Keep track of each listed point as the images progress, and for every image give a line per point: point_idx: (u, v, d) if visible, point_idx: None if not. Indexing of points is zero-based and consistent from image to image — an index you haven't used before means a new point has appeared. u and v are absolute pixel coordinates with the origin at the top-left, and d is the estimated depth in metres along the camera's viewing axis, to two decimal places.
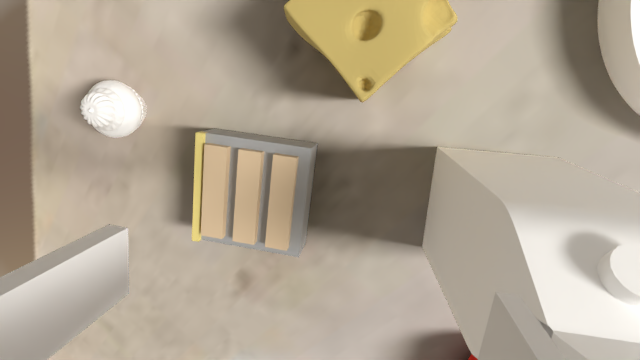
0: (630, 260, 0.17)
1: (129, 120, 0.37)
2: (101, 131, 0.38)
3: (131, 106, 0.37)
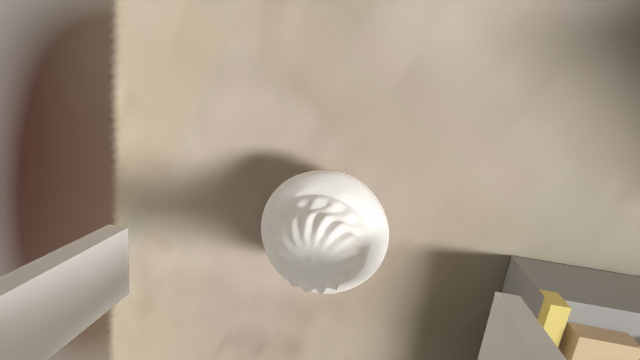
0: None
1: (372, 265, 0.16)
2: (300, 285, 0.17)
3: (380, 234, 0.16)
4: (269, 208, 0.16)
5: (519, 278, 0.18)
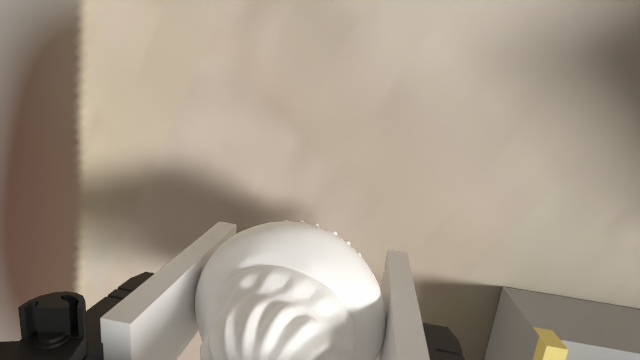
0: None
1: None
2: None
3: (373, 325, 0.10)
4: (203, 281, 0.11)
5: (511, 313, 0.17)
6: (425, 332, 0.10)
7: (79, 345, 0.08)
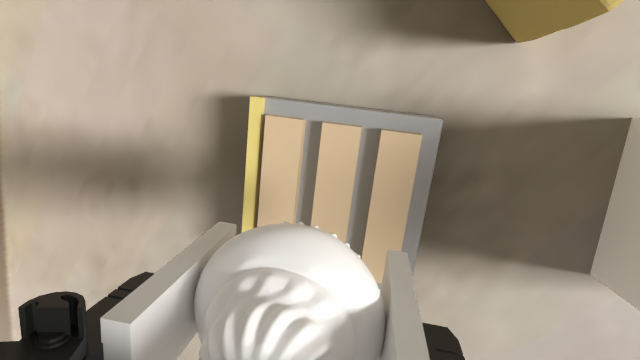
0: None
1: None
2: None
3: (373, 328, 0.10)
4: (202, 283, 0.11)
5: None
6: (425, 332, 0.10)
7: (79, 345, 0.08)
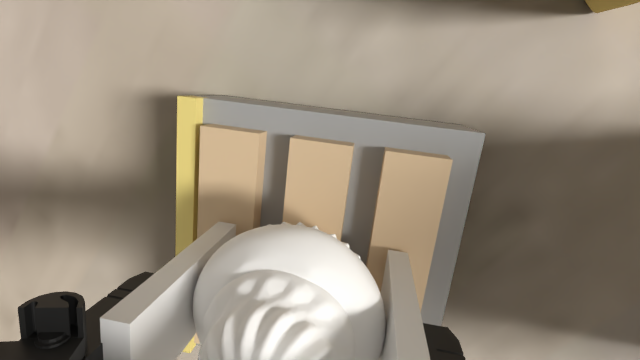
0: None
1: None
2: None
3: (373, 329, 0.10)
4: (201, 285, 0.11)
5: None
6: (426, 332, 0.10)
7: (78, 345, 0.08)
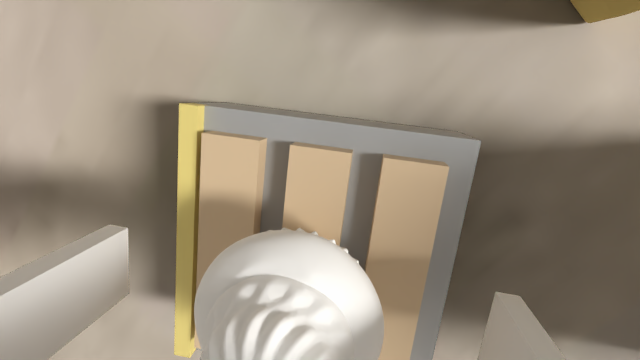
0: None
1: None
2: None
3: (371, 333, 0.10)
4: (202, 290, 0.11)
5: None
6: None
7: None
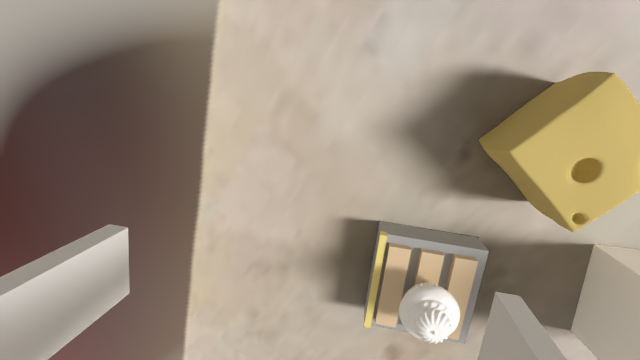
0: None
1: (453, 329, 0.36)
2: (419, 337, 0.37)
3: (457, 316, 0.36)
4: (407, 303, 0.36)
5: (378, 229, 0.43)
6: None
7: None
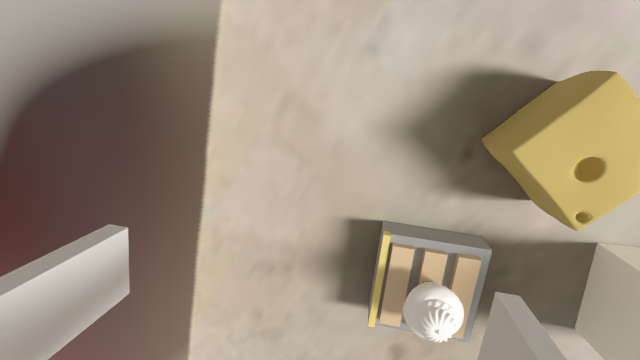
0: None
1: (457, 328, 0.36)
2: (423, 337, 0.37)
3: (461, 315, 0.36)
4: (411, 303, 0.36)
5: (382, 229, 0.43)
6: None
7: None
